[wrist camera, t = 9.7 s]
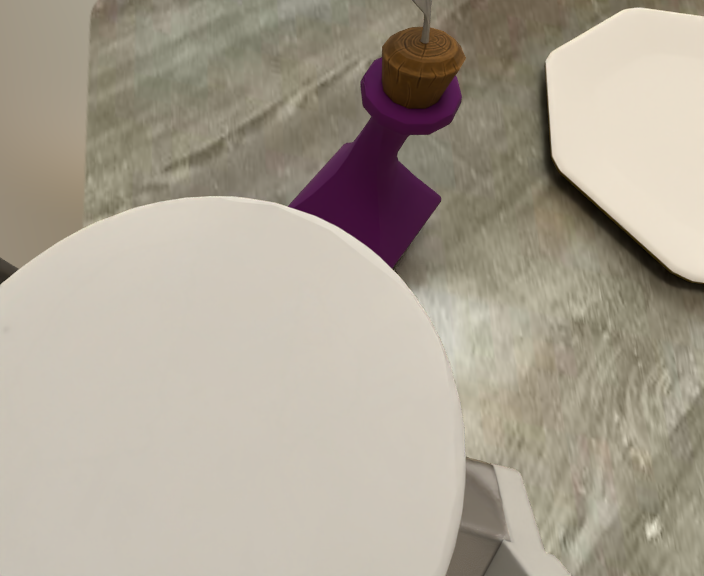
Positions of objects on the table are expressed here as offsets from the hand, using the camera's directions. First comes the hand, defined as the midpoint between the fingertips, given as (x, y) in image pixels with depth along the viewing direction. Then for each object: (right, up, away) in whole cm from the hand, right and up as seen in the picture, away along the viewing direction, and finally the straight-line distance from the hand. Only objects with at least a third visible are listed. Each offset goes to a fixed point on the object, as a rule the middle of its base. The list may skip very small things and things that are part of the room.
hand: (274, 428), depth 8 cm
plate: (+31, +14, +25) cm, 42 cm away
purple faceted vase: (+2, +6, +20) cm, 21 cm away
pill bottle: (0, -3, +6) cm, 6 cm away
